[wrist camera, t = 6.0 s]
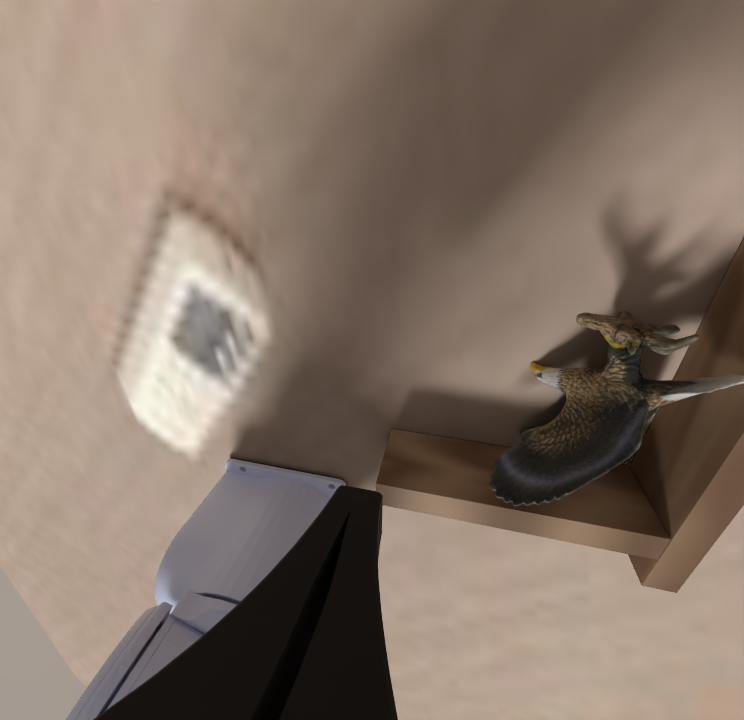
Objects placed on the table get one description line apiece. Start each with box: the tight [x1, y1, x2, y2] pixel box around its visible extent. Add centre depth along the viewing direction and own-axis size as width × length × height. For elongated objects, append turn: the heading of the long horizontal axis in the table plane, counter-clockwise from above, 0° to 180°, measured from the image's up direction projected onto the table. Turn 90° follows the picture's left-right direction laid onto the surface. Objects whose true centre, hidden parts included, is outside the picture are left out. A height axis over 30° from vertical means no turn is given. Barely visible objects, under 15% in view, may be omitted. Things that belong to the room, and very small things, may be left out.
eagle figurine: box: [488, 311, 744, 506], centre depth 15 cm, size 8×7×9 cm
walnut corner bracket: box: [376, 238, 744, 593], centre depth 16 cm, size 15×16×4 cm
